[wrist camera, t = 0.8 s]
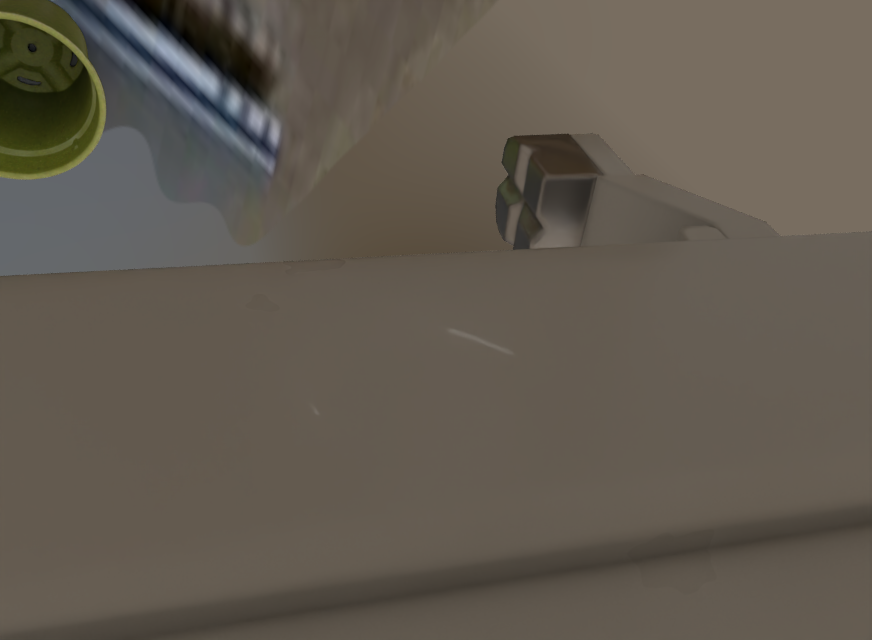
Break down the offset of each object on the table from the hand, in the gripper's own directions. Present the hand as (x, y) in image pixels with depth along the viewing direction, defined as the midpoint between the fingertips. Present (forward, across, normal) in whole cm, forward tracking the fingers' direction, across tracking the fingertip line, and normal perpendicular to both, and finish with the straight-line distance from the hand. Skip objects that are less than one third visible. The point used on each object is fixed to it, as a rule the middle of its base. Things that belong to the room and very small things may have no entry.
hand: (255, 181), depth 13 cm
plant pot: (+42, +11, +12) cm, 46 cm away
